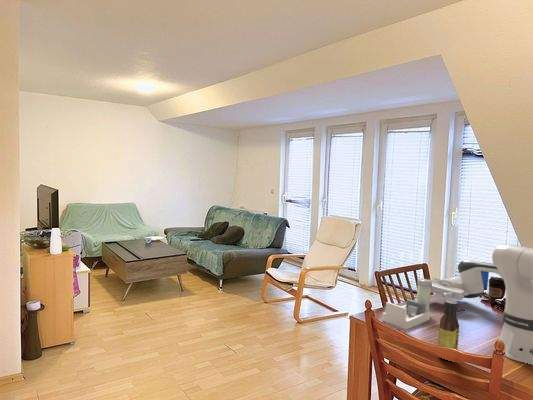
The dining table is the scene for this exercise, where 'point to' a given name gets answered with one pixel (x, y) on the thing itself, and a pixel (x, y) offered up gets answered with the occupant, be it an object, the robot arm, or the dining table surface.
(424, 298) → the jar
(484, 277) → the beer can
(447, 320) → the sauce bottle
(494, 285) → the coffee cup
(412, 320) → the pusher lane
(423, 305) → the pusher
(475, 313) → the dining table surface
